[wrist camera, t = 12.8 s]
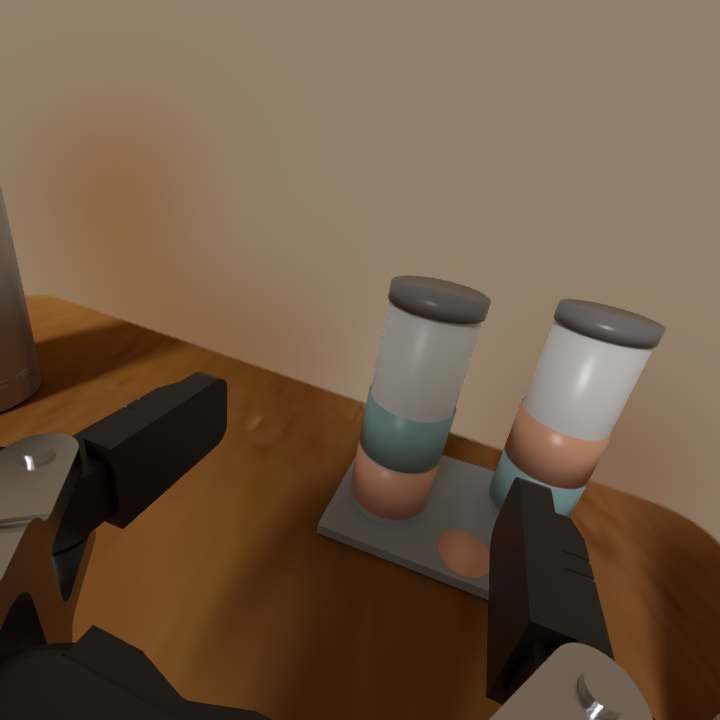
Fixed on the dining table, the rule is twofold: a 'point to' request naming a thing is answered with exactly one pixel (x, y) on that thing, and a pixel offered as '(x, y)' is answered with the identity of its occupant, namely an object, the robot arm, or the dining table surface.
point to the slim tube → (414, 395)
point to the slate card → (428, 528)
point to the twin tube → (574, 400)
